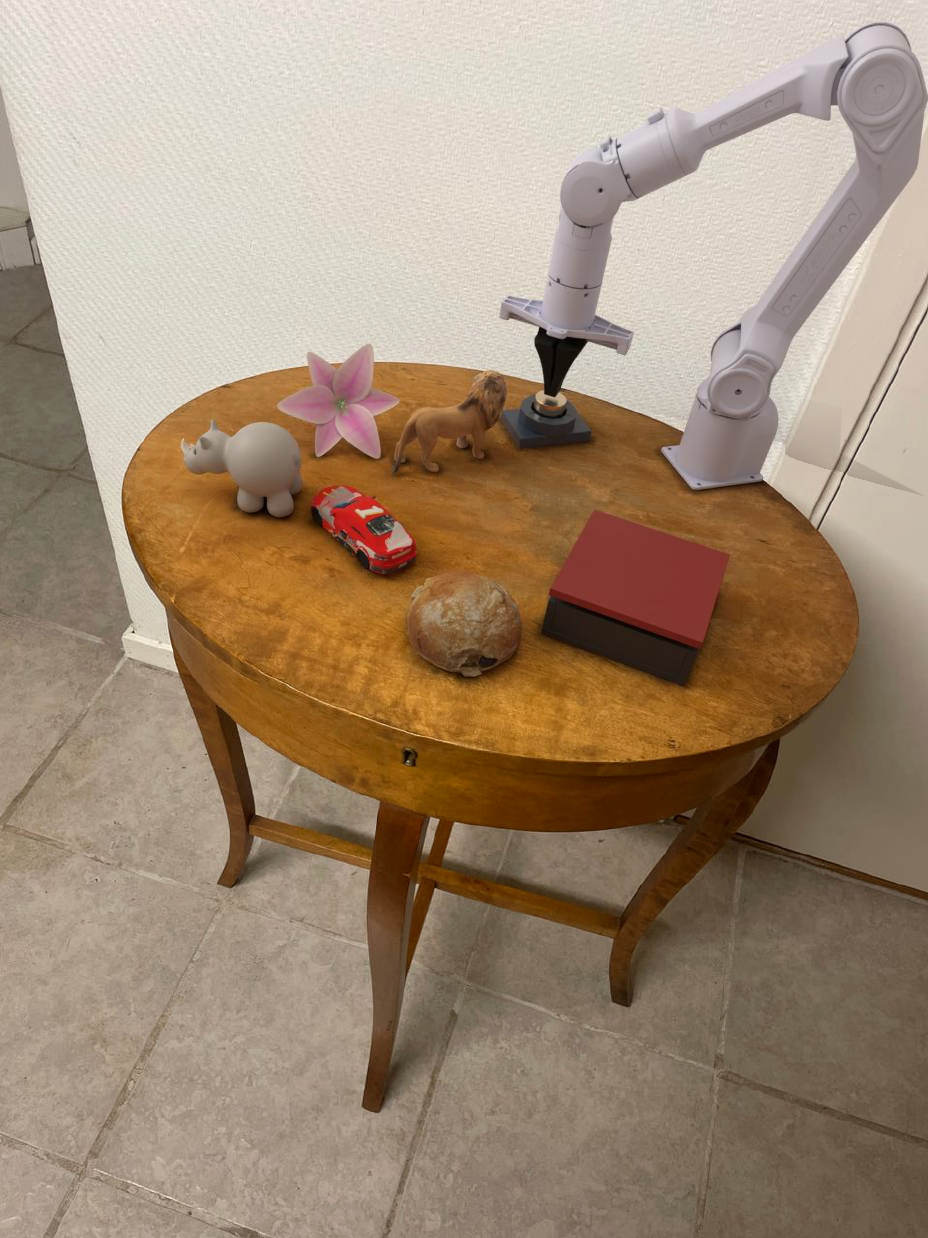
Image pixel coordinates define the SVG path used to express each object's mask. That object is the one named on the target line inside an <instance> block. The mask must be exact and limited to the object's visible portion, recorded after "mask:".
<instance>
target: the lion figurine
mask: <svg viewBox="0 0 928 1238" xmlns="http://www.w3.org/2000/svg"><path fill="white" fill-rule="evenodd" d="M507 395H508V387H507V383H506V380H505V377H504V374H503V373H500V372H499V371H497V370H496V371H495V370H493V369H486V370H485V371H483V372H482V373H481V372H480V373H478V374H477V375H475V376H474V377H473V383H472V385H471V387H470V388H469V390H468V392H467V394H466V397H465V398H464V399H463V400H462V401H461V402H460V403H458V404H455V405H451V406H447V407H431V406H425V407H421V408H418V409H416V410H414V411H413V412H412V413H411V414H410V416H409V419H408V420H407V421H406V423H405V425H404V428H403V430H402V433H401V435H400V439H399V441H398V442H397V443H396V444H395V449H394V454H393V459H394V461H395V464H394V465H393V467H392V468H391V470H390V472H391V473H393V474H394V473H398V471H399V469H400V467H401V463H405V462H406V459H407V456H406V454H403V453H404V450H405V448H406V447H408V446H409V445H410V444H411V443H412V442H414V441H415V440H416V439H418V442H419V444H420V447H421V455H420V461H421V462H422V464H423V465H424V466H425V468H426V469H427V471H428V472H431V473H438V472H439V471H440V467H439V465H438V464H437V463H436V462H433V463H432V461H431V460H432V459H431V456H432V454H433V451H434V449H435V448H436V445H437V443H438V442H437V441H438V437H439V438H441V439H446V440H455V439H457V440H456V446H457V447H458V448H459V449H465V448H467V447H468V446H469V443H468V440H467V436H469V435H471V437H472V439H473V444H472V449H471V453H472V456H473V458H476V459H478V460H483V459H484V458H485V453H484V451H482V450H481V449H482V446H483V443H484V441H485V437H486V432H487V431H489V430H491V429H492V428H494V427H495V425H496V423H498V422H499V420H500V419H501V414H502V410H504V407H505V403H506V401H507Z"/></svg>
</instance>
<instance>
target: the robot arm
mask: <svg viewBox="0 0 928 1238" xmlns="http://www.w3.org/2000/svg"><path fill="white" fill-rule="evenodd" d="M926 85H927V84H926V81H925V77H924V73H923V69H922V66H921V63H920V61H919V59H918V57H917V55H916V54H915V53H914V52H913V50H912V46H911V44H910V41H909V38H908V36H907V34H906V33H905V31H903V29H901V28H900V27H899V26H898V25H896V24H894V23H892V22H887V21H873V22H869V23H866V24H864V25H861V26H860V27H858V28H855V30H854V31H852V32H851V33H850V34H849V35H848V36H847V37H846V38H845V36H844V35H843V34H842V35H839V36H836V37H833V38H830V39H828V40H826V41H824V42H822V43H821V44H818V45H816V46H814V47H813V48H811V49H809V50H807V51H805V52H803V53H802V54H799V55H797V56H796V57H794V58H793V59H791V60H789V61H788V62H785V63H784V64H782V65H780V66H778V67H776V68H774V69H773V70H771V71H769V72H768V73H766V74H764V75H762V76H761V77H759V78H757V79H755V80H754V81H751V82H750V83H748V84H746V85H745V86H742V87H741V88H739V89H737V90H735V91H733V92H732V93H729V94H728V95H726V96H725V97H723V98H721V99H719V100H717V101H716V102H714V103H712V104H710V105H709V106H707V107H705V108H703V109H701V110H699V111H698V112H696V113H695V112H691V111H687V110H684V109H682V108H678V107H673V108H672V109H670V110H668V111H666V112H664V110H663V108H662V107H658V108H656V109H654V110H652V111H650V112H648V115H647V118H646V120H647V122H644V123H643V124H641V125H639V126H637V127H636V128H633V129H632V130H630V131H627V132H626V133H624V134H622V135H620V136H618V137H616V138H614V139H612V136H611V135H608V136H606V137H604V138H603V139H601V140H600V142H599V147H598V146H592V147H591V146H590V147H588V148H585V149H584V150H582V151H581V152H579V153H578V154H577V155H576V156H575V157H574V158H573V160H572V162H571V164H570V166H569V167H568V170H567V172H566V173H565V175H564V178H563V180H562V182H561V185H560V191H559V192H560V193H559V200H560V201H559V202H560V205H561V208H560V210H559V214H558V224H557V226H556V228H555V231H554V237H553V242H552V249H551V254H550V260H549V266H548V271H547V277H546V283H545V288H544V294H543V300H540V299H539V300H538V299H532V298H531V299H530V298H524V297H518V296H513V295H510V294H508V295H506V296H505V297H504V298H503V299H502V300H501V303H500V308H499V319H501V320H505V321H509V320H510V319H512V320H515V321H518V322H521V323H524V324H528V325H532V326H534V327H538V329H537V330H538V331H537V334H535V336H534V339H533V345H534V348H535V350H536V353H537V356H538V358H539V361H540V362H539V363H540V366H541V371H542V378H543V390H544V394H545V395H548V396H551V397H556V396H557V394H558V393H560V392H561V389H562V386H563V384H564V381H565V379H566V376H567V374H568V373H569V371H570V369H571V367H572V365H573V364H574V362H575V361H576V359H577V358H578V356H579V355H580V354H581V353H582V351H583V350H584V348H585V347H586V345H588V343H592V344H595V345H598V346H602V347H605V348H607V349H608V348H609V349H612V350H615V352H616V354H618V355H621V356H626V355H627V354H628V352H629V351H630V349H631V346H632V342H633V338H634V335H635V332H634V331H633V330H630V329H627V328H624V327H621V326H619V325H617V324H616V323H613V322H612V321H609V320H607V319H605V318H604V317H601V316H599V315H597V314H596V312H597V308H598V303H599V298H600V295H601V290H602V285H603V280H604V278H605V277H604V276H605V272H606V267H607V263H608V257H609V254H610V250H611V244H612V241H613V235H612V228H613V224H614V220H615V219H614V218H615V216H616V214H617V213H618V212H619V209H620V208H621V205H622V203H625V202H627V203H628V202H635V201H637V200H639V199H640V198H643V197H645V196H647V195H649V194H651V193H653V192H656V191H658V190H660V189H662V188H664V187H666V186H668V185H670V184H672V183H674V182H676V181H679V180H681V179H683V178H684V177H686V176H689V175H691V174H693V173H695V172H697V170H698V169H699V167H700V165H701V163H702V160H703V157H704V155H705V153H706V152H707V151H708V150H711V149H713V148H716V147H718V146H720V145H722V144H725V143H727V142H730V141H731V140H735V139H736V138H739V137H741V136H743V135H746V134H748V133H751V132H753V131H755V130H757V129H759V128H762V127H764V126H766V125H769V124H770V123H773V122H775V121H776V122H777V121H778V120H780V119H783V118H785V117H787V116H789V115H792V114H800V115H803V116H808V117H810V118H814V119H817V120H821V121H826V122H829V121H831V119H832V118H831V115H832V111H831V110H832V106H837V108H838V111H839V113H840V115H841V117H842V119H843V120H844V122H845V123H846V125H847V127H848V129H849V130H850V132H851V134H852V139H853V146H854V151H855V159H854V160H853V163H852V164H851V165H850V167H849V168H848V170H847V171H846V172H845V175H844V176H843V177H842V178H841V179H840V182H839V183H838V184H837V186H836V187H835V189H833V192H831V195H830V196H829V197H828V199H827V200H826V202H825V203H824V205H822V207H821V209H820V211H819V212H818V213H817V214H816V217H815V218H814V219H813V221H812V222H811V224H810V225H809V227H808V228H807V230H806V231H805V232H804V234H803V235H802V237H801V238H800V240H799V241H798V242H797V244H796V246H795V247H794V249H792V251H791V253H790V254H789V256H788V257H787V259H786V260H785V261H784V263H783V264H782V266H781V267H780V269H779V270H778V272H777V273H776V274H775V276H774V277H773V279H772V281H771V282H770V283H769V285H768V286H767V287H766V289H765V291H763V293H762V295H761V297H760V298H759V299H758V301H756V303H755V305H753V306H751V307H749V308H748V309H746V310H745V311H744V312H743V314H742V315H741V316H740V318H739V319H738V320H737V321H736V323H734V324H733V325H732V326H730V327H728V328H727V329H725V330H723V331H722V332H721V333H720V334H719V335H718V336H717V337H716V338H715V339H714V341H713V343H712V346H711V348H710V370H709V371H710V372H709V375H708V376H707V378H706V379H705V380H703V381H702V382H701V383H700V384H699V385H698V387H697V390H696V394H695V396H694V400H693V403H692V405H691V408H690V412H689V415H688V418H687V421H686V424H685V427H684V431H683V432H682V437H681V439H680V442H679V444H677V445H669V446H663V447H662V448H661V449H660V452H661V453H662V454H663V456H664V457H665V458H666V459H667V461H668V462H669V464H670V465H671V466H672V467H673V468H674V469H675V470H676V472H677V473H678V475H680V476H681V478H682V479H683V480H684V481H685V483H686V484H687V485H688V486H689V487H690V489H691V490H693V491H700V490H701V491H702V490H708V489H715V488H721V487H731V486H736V485H744V484H750V483H751V484H752V483H758V482H762V481H763V480H764V476H763V474H762V473H761V471H762V469H763V468H764V467H763V466H764V464H765V461H766V459H767V457H768V454H769V452H770V449H771V447H772V445H773V442H774V441H775V437H776V435H777V431H778V427H779V411H778V408H777V405H776V404H775V401H774V400H773V398H771V397H770V395H771V390H772V383H773V381H774V378H775V377H776V375H777V374H778V373H779V371H780V369H782V366H783V364H784V362H785V359H786V357H787V353H788V352H789V349H790V347H791V344H792V341H793V339H794V338H795V336H796V335H797V333H798V332H799V331H800V330H801V328H802V326H804V324H805V322H806V321H807V320H808V319H809V317H810V316H811V315H812V314H813V311H815V309H816V308H817V307H818V305H819V304H820V302H822V300H823V298H824V297H825V296H826V294H827V293H828V292H829V291H830V289H831V287H832V286H833V285H834V283H835V282H836V281H837V280H838V278H839V277H840V276H841V274H842V273H843V272H844V270H845V269H846V268H847V266H848V265H849V264H850V262H851V261H852V259H853V258H854V257H855V255H856V254H857V252H858V251H859V250H860V249H861V248H862V246H863V244H865V242H866V241H867V239H868V238H869V236H870V235H871V234H872V232H873V231H874V230H875V228H876V227H877V225H878V224H879V223H880V221H882V219H883V218H884V216H885V215H886V213H887V212H888V211H889V209H890V208H891V207H892V206H893V204H894V203H895V201H896V200H897V198H898V197H899V196H900V195H901V193H902V192H903V191H904V189H906V186H907V185H908V184H909V182H910V181H911V180H912V178H913V177H914V175H915V173H916V171H917V169H918V164H919V160H920V152H921V151H920V150H921V144H922V135H923V127H924V118H925V113H926V109H927V105H928V89H927V86H926Z"/></svg>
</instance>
